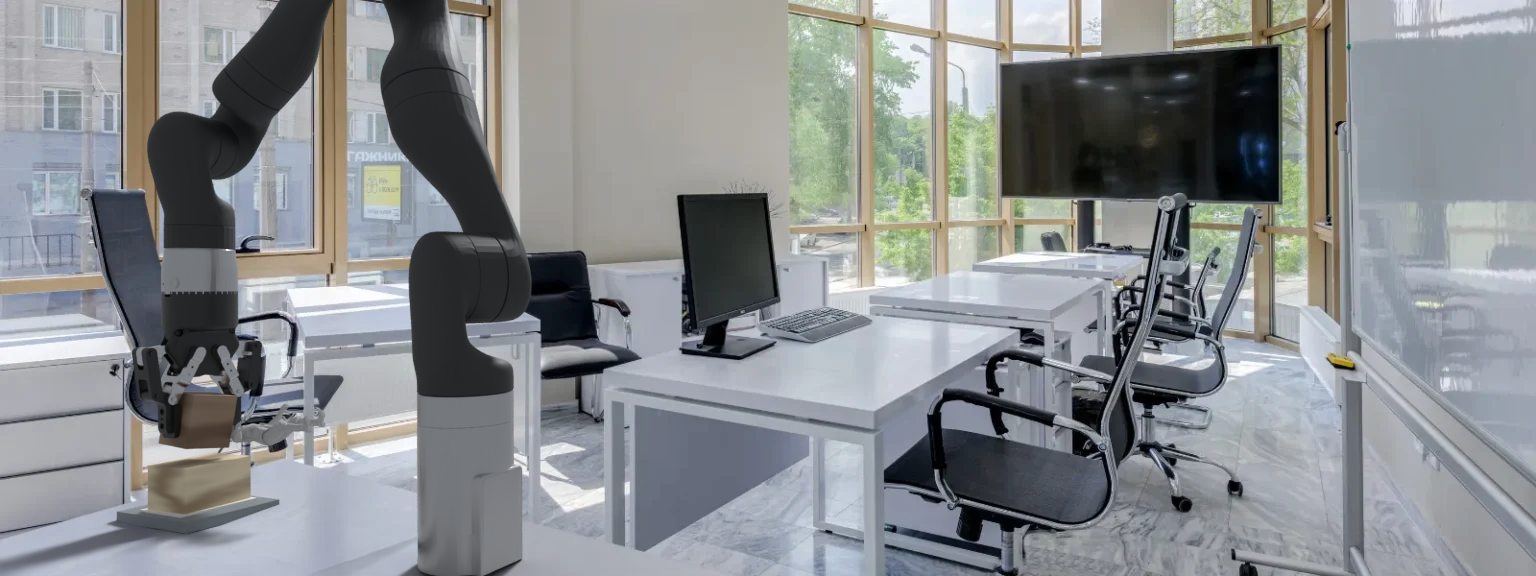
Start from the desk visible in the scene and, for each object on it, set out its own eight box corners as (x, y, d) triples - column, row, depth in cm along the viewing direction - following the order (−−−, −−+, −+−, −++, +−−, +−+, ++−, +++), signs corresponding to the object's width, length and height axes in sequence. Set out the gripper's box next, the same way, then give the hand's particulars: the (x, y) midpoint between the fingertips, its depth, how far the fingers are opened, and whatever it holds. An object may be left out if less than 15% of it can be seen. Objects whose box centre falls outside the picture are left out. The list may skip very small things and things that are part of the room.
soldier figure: (287, 424, 97) (195, 411, 99) (288, 465, 98) (196, 452, 100) (335, 405, 105) (248, 394, 107) (335, 444, 105) (249, 432, 108)
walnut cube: (229, 447, 102) (237, 396, 103) (185, 449, 98) (194, 395, 98) (202, 442, 104) (210, 391, 105) (158, 443, 100) (167, 390, 100)
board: (279, 509, 104) (279, 497, 104) (186, 533, 94) (186, 520, 94) (211, 500, 109) (211, 488, 109) (116, 522, 99) (116, 509, 99)
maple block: (250, 497, 104) (250, 455, 104) (185, 514, 97) (185, 469, 97) (214, 493, 106) (213, 452, 106) (147, 509, 99) (147, 465, 99)
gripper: (237, 288, 110) (237, 422, 110) (113, 289, 96) (113, 441, 97) (279, 288, 107) (279, 425, 107) (157, 289, 94) (157, 446, 94)
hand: (200, 432), depth 102 cm, fingers open, 6 cm apart
